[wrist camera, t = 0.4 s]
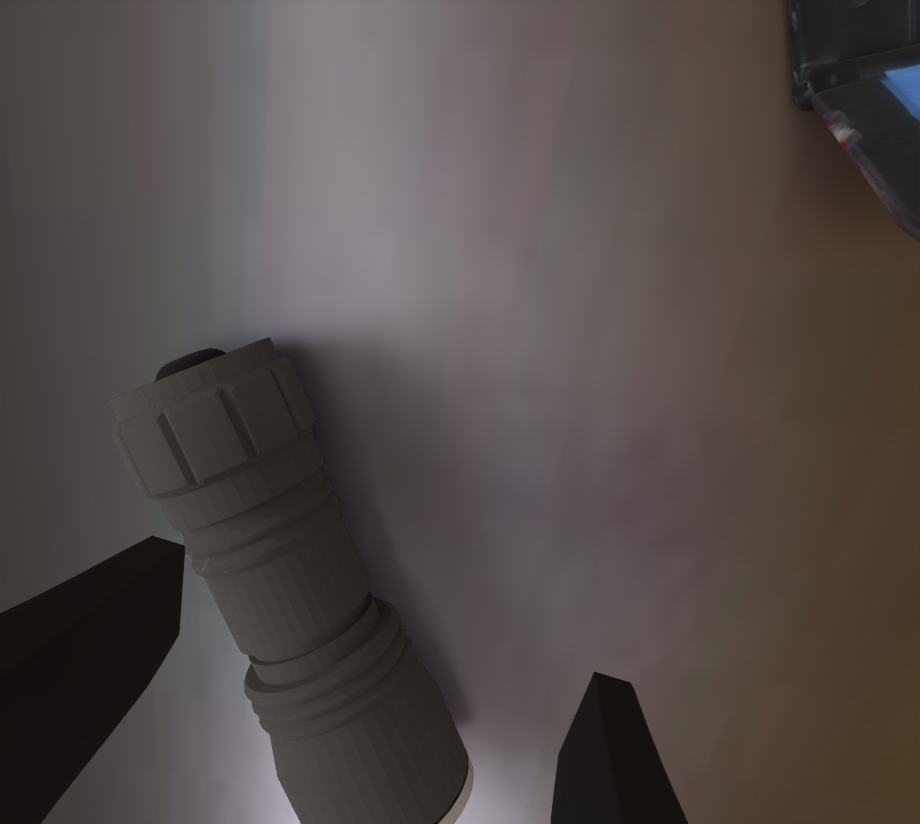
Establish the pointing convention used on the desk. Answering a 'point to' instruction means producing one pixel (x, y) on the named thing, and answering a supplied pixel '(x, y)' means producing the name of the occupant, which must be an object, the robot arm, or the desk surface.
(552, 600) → the desk surface
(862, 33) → the handheld console
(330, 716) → the flashlight
